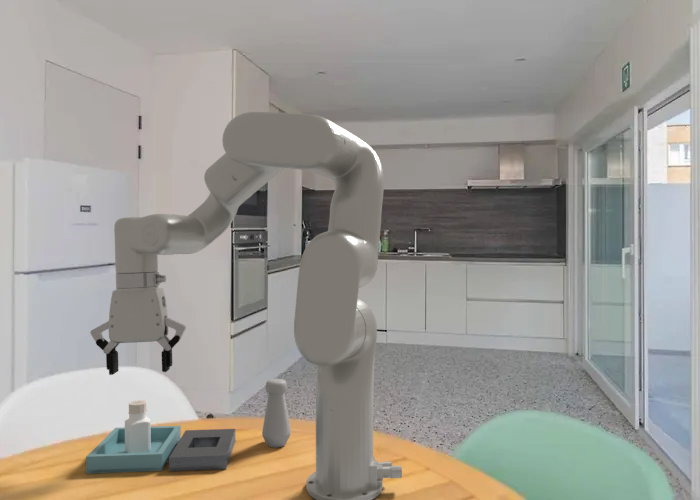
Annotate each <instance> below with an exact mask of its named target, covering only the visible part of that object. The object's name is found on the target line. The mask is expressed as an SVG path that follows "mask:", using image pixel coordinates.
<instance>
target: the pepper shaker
mask: <svg viewBox="0 0 700 500" xmlns="http://www.w3.org/2000/svg"><path fill="white" fill-rule="evenodd" d="M128 416H129V417H128V418H127V419H125V420H124V427H125V450H126V452H127V453H145V452H150V449H151V427H152V426H151V425H152V424H151V419H150V418H149V417H148V416H147V401H146V400H144V399H143V400H140V399H138V400H132V401H129V403H128Z"/></svg>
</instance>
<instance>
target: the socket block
mask: <svg viewBox="0 0 700 500" xmlns="http://www.w3.org/2000/svg"><path fill="white" fill-rule="evenodd" d="M235 442H236V428H220V429H219V428H216V429H213V428H212V429H191V430H190V429H187V430H185V431H184V432H183V434H182V435H181V439H180V440H179V442H178V444H177V445H176V447H175V449H174V450H173V452H172V454H171V455H170V457H169V460H168V472H172V473H173V472H189V471H192V472H193V471H196V472H198V471H214V470H215V471H217V470H227V467H228V465H229V462H230V458H231V456H232V453H233V449H234V446H235Z"/></svg>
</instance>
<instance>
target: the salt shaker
mask: <svg viewBox="0 0 700 500" xmlns="http://www.w3.org/2000/svg"><path fill="white" fill-rule="evenodd" d="M287 387H288V384H287V381H286V380H285V379H283V378H271V379H268V380H267V381H266V383H265V392H266V393H268V396H267V400H266V406H265V412H264V414H265V415H264V418H263V419H264V420H263V425H262V431H261V432H262V438H263V439H264V441H265V444H266V445H267V447H269V448H277V449H278V448H281V447H285V446H286V444H287V442H288V440H289V439H290V436H291V425H290V424H291V423H290V418H289V413H288V406H287V401H286V397H285V392H287Z"/></svg>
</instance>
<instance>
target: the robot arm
mask: <svg viewBox="0 0 700 500" xmlns="http://www.w3.org/2000/svg"><path fill="white" fill-rule="evenodd" d="M221 141H222V146H223V150H224V151H225V153H224V154H222V156H220V157H219V158H218V159H217V160H216V161H215V162H214V163H212V165H210V166H209V167H208V168H207V169H206V170H205V172H204V175H203V176H204V178H203V179H204V183H205V185H206V187H207V189H208V191H209V194H208V196H207V198H206V199H205V201H204V202H203V203H202V204H201V205H199V206H198V207H197V208H195V210H194V211H192V212H191V213H189V214H188V215H185V214H184V215H182V214H169V213H167V214H166V213H155V214H150V215H144V216H141V217H140V216H138V217H137V216H133V217H132V216H131V217H121V218H118V219H117V220H116V221H115V223H114V227H113V228H114V254H115V255H114V256H115V257H114V258H115V259H114V262H115V263H114V264H115V290H113V291H112V292H111V298H110V304H109V313H108V314H109V315H108V320H107V321H106V322H104V323H102V324H100V325H99V326H96V327H95V328H93V329H92V330H90V335H91V337H92V338H93V341H95V344H96V346H98V347H99V348H100V349H101V350H102V352H103V354H105V356H106V357H105V360H106V370H108V375H109V376H112V375H115V373H116V374H117V372H118V373H119V352H118V351H117V347H118V346H119V344H128V343H148V342H149V343H151V342H157V343H158V345H160V347H162V348H163V350H162V351H161V371H162V372H163V373H167V372H168V371H170V368H171V367H172V366H173V349H174V347H175V346H176V345H177V344H178V343H179V342H180V341H181V339H182V336H183V335H184V333H185V330H186V329H187V326H186V325H184V324H183V323H180V322H178V321H176V320H173V319H172V318H169V317H168V316H169V315H168V309H167V307H168V306H167V301H166V295H165V290H164V288H163V287H159V286H160V284H162V283H166V281H167V277H166V275H162V274H161V273H160V272H159V266H158V262H159V261H158V258H159V257H158V256H169V255H170V256H171V255H172V256H173V255H192V254H195V253H198V252H200V251H202V250H203V249H205V248H207V247H209V246H210V245H211V244H212V243H213V242H214V241H215V240H216V239H218V238H219V237H221V235H223V234H224V233H225V232H226V231H227V230H228V228H229V227H230V226H231V224H232V222H233V221H234V219H235V217H236V216H237V213H238V209H239V207H240V206H241V205H242V204H244V203H245V202H246V201H247V200H248V199H250V198H251V197H252V196H253V195H254V194H255V193H256V192H257V191H259V190H260V189H261V188H262V187H264V185H266V184H268V183H269V181H271V180H272V179H273V178H274V177H275V176H277V175H278V174H279V173H280V172H282V171H283V170H284V169H291V170H302V171H306V172H310V173H313V174H315V175H319V176H323V177H326V178H328V179H331V180H333V182H334V183H335V185H334V186H335V187H334V192H333V195H332V196H331V197H332V198H331V201H330V206H329V218H328V219H329V220H328V221H329V222H328V228H327V231H324V232H322V233H319V234H317V235H315V236H314V237H313V238H312V239H311V240H310V241H309V243H308V244H306V247H305V249H304V251H303V253H302V256H301V260H300V263H299V270H298V271H299V272H298V277H297V278H298V279H297V288H296V298H295V307H294V308H295V309H294V311H295V312H294V321H293V333H294V334H293V335H294V343H295V345H296V348H297V350H298V351H299V353H300V355H301V357H302V358H304V359H305V360H306V361H307V362H308V363H310V364H312V365H313V366H316V367H317V368H316V375H315V376H316V377H315V471H314V472H313V473H312V474H310V475H309V476H308V477H307V479H306V484H305V485H306V486H305V487H306V491H307V493H308V495H309V497H311V498H313V499H314V500H374V499H376V498H377V497H378V496H380V494H381V493H382V492H383V487H384V486H383V482H384V481H383V480H384V479H402V477H403V470H402V469H403V468H402V466H401V465H392V464H393V463H392V461H390V460H389V461H379V462H378V460H376V459H375V456H374V382H375V381H374V379H375V377H374V374H375V373H374V372H375V371H374V370H375V357H376V356H375V355H376V348H377V339H378V338H377V337H378V336H377V335H378V325H377V321H376V317H375V314H374V312H373V310H372V309H371V307H370V306H369V304H367V303H365V302H364V301H363V300H361V299H359V289H361V288H363V287H365V286H366V285H368V284H369V283H371V282H372V280H373V279H374V277H375V275H376V274H377V273H376V272H377V271H378V270H377V269H378V260H379V248H380V247H379V246H380V236H381V227H382V226H381V225H382V213H383V212H382V211H383V201H384V188H385V174H384V168H383V165H382V162H381V160H380V158H379V156H378V155H377V153H376V151H375V150H374V149H373V148H372V147H371V146H370V145H369V144H368V143H367V142H365V141H364V140H362V139H361V138H359V137H358V136H357V135H355V134H353V133H351V132H350V131H348V130H347V129H345V128H344V127H342V126H340V125H338V124H336V123H335V122H333V121H331V120H330V119H328V118H325V117H323V116H320V115H317V114H311V113H296V112H293V113H292V112H269V111H247V112H243V113H241V114H238V115H237V116H234V117H233V118H232V119H231V120H230V121H229V122H228V123H227V124H226V126H225V128H224V131H223V134H222V140H221ZM169 328H171V329H173V330H175V334H174V336H173V337H172V338H171V339H170V338H169V336H168V335H169V332H170V329H169ZM107 330H108V337H109V341H108V340H107V339H105V338H104V336H103V332H105V331H107Z"/></svg>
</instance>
